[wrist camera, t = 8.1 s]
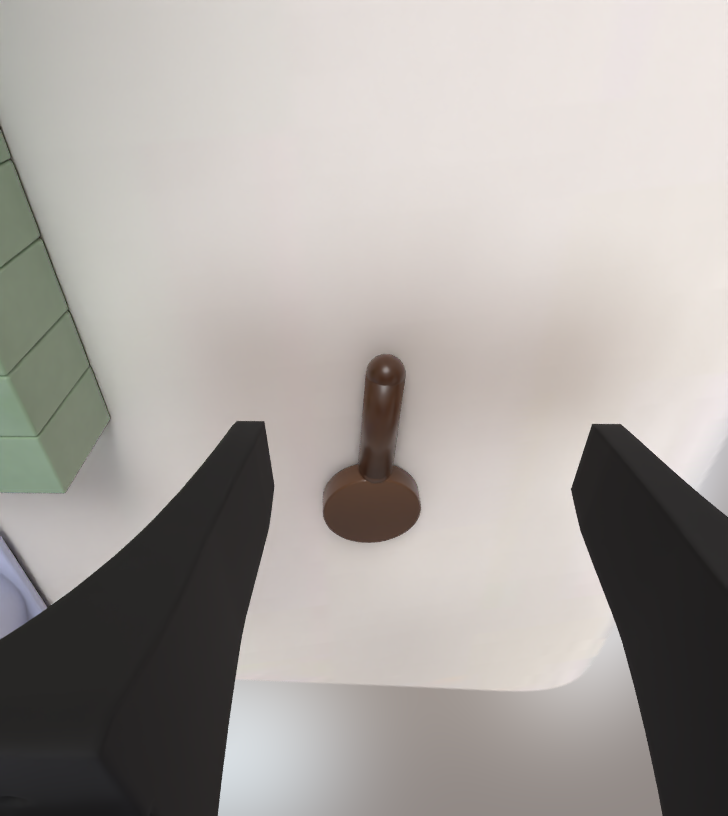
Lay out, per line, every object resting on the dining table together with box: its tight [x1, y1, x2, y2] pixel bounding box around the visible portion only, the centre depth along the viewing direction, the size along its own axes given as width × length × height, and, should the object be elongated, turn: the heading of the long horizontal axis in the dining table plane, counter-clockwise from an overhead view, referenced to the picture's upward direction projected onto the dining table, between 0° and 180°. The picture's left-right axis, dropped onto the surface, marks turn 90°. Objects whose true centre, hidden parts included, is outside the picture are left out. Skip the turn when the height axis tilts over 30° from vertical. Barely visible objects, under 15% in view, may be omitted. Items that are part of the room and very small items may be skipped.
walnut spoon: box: [323, 354, 421, 543], centre depth 19 cm, size 1×4×8 cm
